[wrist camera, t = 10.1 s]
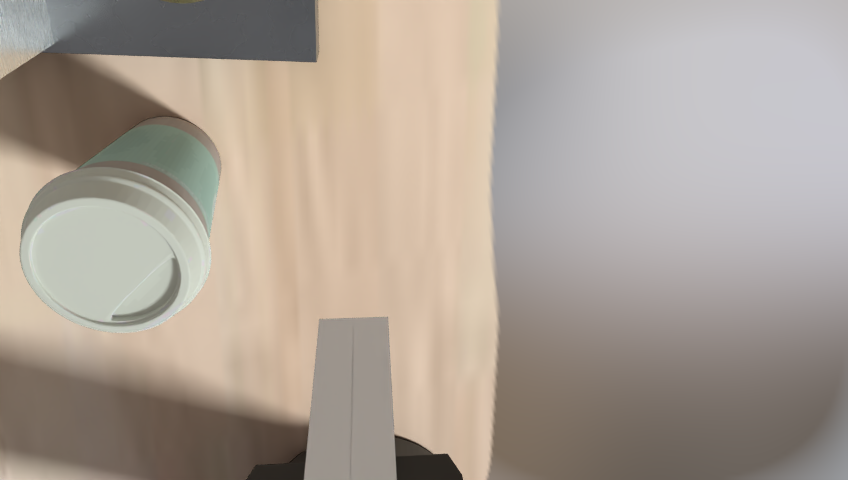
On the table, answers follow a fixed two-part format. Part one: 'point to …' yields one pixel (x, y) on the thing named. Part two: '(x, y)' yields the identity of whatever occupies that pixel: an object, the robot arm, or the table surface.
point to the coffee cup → (126, 229)
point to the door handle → (182, 1)
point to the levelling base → (159, 29)
